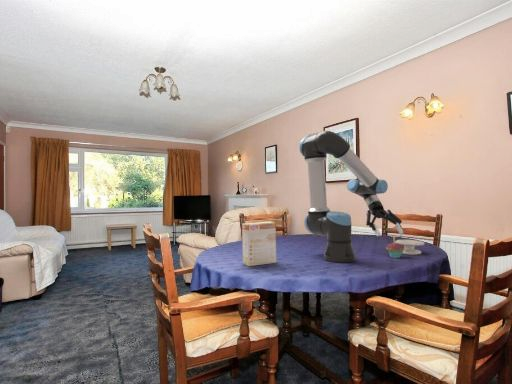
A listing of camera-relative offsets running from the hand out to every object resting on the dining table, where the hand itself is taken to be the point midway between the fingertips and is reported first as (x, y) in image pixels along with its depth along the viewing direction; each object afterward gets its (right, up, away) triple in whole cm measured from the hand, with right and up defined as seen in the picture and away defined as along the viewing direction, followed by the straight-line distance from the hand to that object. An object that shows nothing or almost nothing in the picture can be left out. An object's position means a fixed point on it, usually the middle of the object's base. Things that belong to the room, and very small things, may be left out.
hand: (390, 234), depth 160 cm
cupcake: (0, -11, -6) cm, 12 cm away
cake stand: (+12, -10, +4) cm, 16 cm away
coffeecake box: (-70, -12, -16) cm, 72 cm away
